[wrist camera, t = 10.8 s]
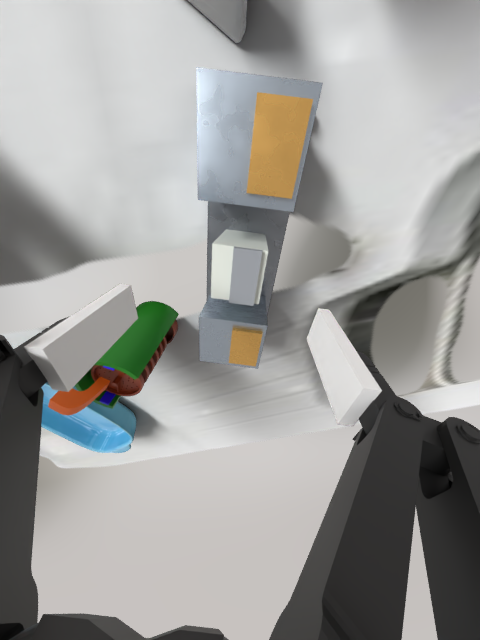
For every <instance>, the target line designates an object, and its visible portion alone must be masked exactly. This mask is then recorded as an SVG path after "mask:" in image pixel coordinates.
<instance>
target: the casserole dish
mask: <svg viewBox="0 0 480 640" xmlns="http://www.w3.org/2000/svg"><path fill="white" fill-rule="evenodd" d="M41 388H42V390H43V392H44V397H43V410H42V424H41V427H43V428H45V429H47V430H49V431H51V432H53V433H55V434H57V435H59V436H61V437H63V438H65V439H67V440H69V441H71V442H73V443H75V444H77V445H80V446H82V447H84V448H86V449H89V450H92V451H95V452H101V453H109V452H112V453H122V452H126V451H128V450H129V449H130V448H131V445H130V444H131V443H132V441H133V438H134V434H135V429H136V418H135V415H134V413H133V412H132V411H131V410H130V409H128V408H127V407H126V406H124V405H123V404H122V403H120V402H119V401H118V402H117V403H116V405H115V406H114V408H113V409H111V408H108V407H105V406H102V405H99V404H97V403H95V402H93V401H92V402H91V403H90V404H89V405H88V406H87V407H85V408H84V409H82V410H81V411H79V412H77V413H75V414H73V415H63V414H60V413H58V412H56V411H54V410H52V409H51V408H49V407H48V405H49V401H50V399H51V398H52V397H53V396H54V395H55V394H56V393H57V392H58V391H57V390H52V388H51V387H50V385H49V384H48V382H47V383H45V384H44V385H43V386H42V387H41ZM73 389H75V390H77V388H76V387H75V386H74V387H73ZM77 391H78V390H77Z"/></svg>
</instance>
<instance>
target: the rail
mask: <svg viewBox="0 0 480 640" xmlns="http://www.w3.org/2000/svg"><path fill="white" fill-rule="evenodd" d="M196 77H197V169H198V200H204V201H208V242H207V244H208V245H207V302H206V304H205V306H204V308H203V310H202V312H201V314H200V316H199V353H200V361H205V362H212V363H220V364H227V365H235V366H242V367H249V368H257V369H258V366H259V362H260V358H261V353H262V349H263V344H264V340H265V335H266V331H267V327H268V324H267V314H268V309H269V305H270V300H271V295H272V291H273V286H274V282H275V277H276V272H277V268H278V263H279V259H280V254H281V249H282V244H283V240H284V235H285V231H286V226H287V222H288V217H289V212H294V207H295V203H296V199H297V194H298V190H299V185H300V181H301V177H302V172H303V168H304V163H305V159H306V154H307V150H308V146H309V141H310V137H311V132H312V128H313V124H314V119H315V115H316V110H317V106H318V101H319V97H320V93H321V88H322V84H323V83H319V82H311V81H303V80H295V79H287V78H279V77H271V76H263V75H255V74H247V73H238V72H230V71H222V70H214V69H206V68H198V67H196ZM226 229H228V230H236V231H244V232H251V233H259V234H265V236H266V241H267V246H268V256H267V261H266V267H265V272H264V278H263V283H262V289H261V294H260V300H259V304H254V306H250V305H242V304H235V303H229V300H223V299H216V298H211V272H212V243H213V242H214V241H215V240H216V239H217V238H218V237H219V236H220V235H221V234H222V233H223V232H224V231H225V230H226Z"/></svg>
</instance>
